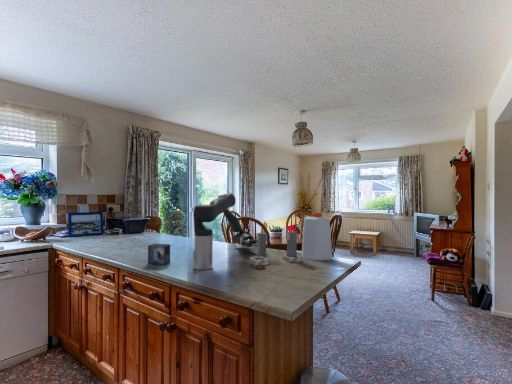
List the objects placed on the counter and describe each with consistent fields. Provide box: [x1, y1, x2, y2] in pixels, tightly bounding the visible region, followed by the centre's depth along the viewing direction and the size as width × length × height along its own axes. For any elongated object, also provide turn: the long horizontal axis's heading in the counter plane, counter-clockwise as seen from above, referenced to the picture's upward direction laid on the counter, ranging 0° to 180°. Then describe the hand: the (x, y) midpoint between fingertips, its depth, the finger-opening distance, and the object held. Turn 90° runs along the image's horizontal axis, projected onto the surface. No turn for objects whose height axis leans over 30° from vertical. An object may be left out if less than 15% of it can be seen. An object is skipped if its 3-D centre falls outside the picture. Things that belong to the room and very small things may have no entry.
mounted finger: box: [285, 230, 298, 257], centre depth 157 cm, size 5×4×16 cm
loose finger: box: [256, 232, 268, 258], centre depth 163 cm, size 5×4×16 cm
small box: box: [147, 243, 171, 266], centre depth 155 cm, size 11×6×10 cm, turn 76°
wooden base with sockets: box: [248, 254, 303, 269], centre depth 154 cm, size 28×9×4 cm, turn 111°
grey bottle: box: [301, 211, 333, 261], centre depth 167 cm, size 15×15×28 cm
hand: (255, 244), depth 171 cm, fingers open, 8 cm apart
